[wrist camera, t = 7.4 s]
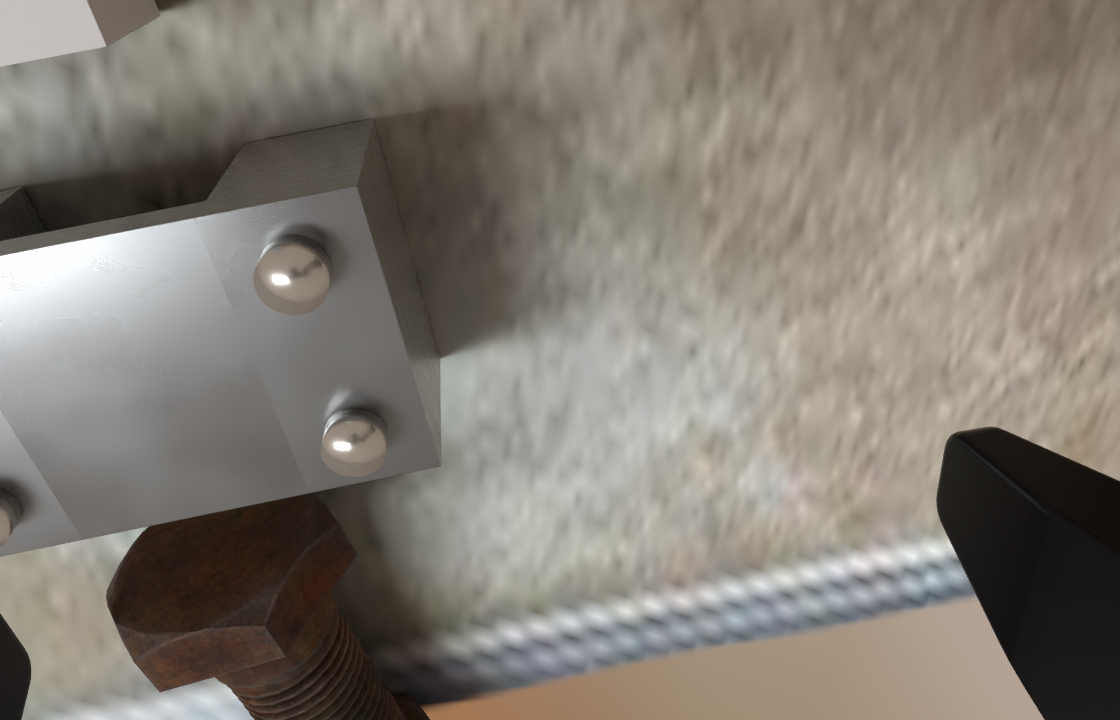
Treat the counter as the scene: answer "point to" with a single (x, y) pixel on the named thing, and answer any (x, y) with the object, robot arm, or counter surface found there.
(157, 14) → the handle
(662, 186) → the counter surface
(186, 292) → the housing
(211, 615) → the brown lumpy shape
